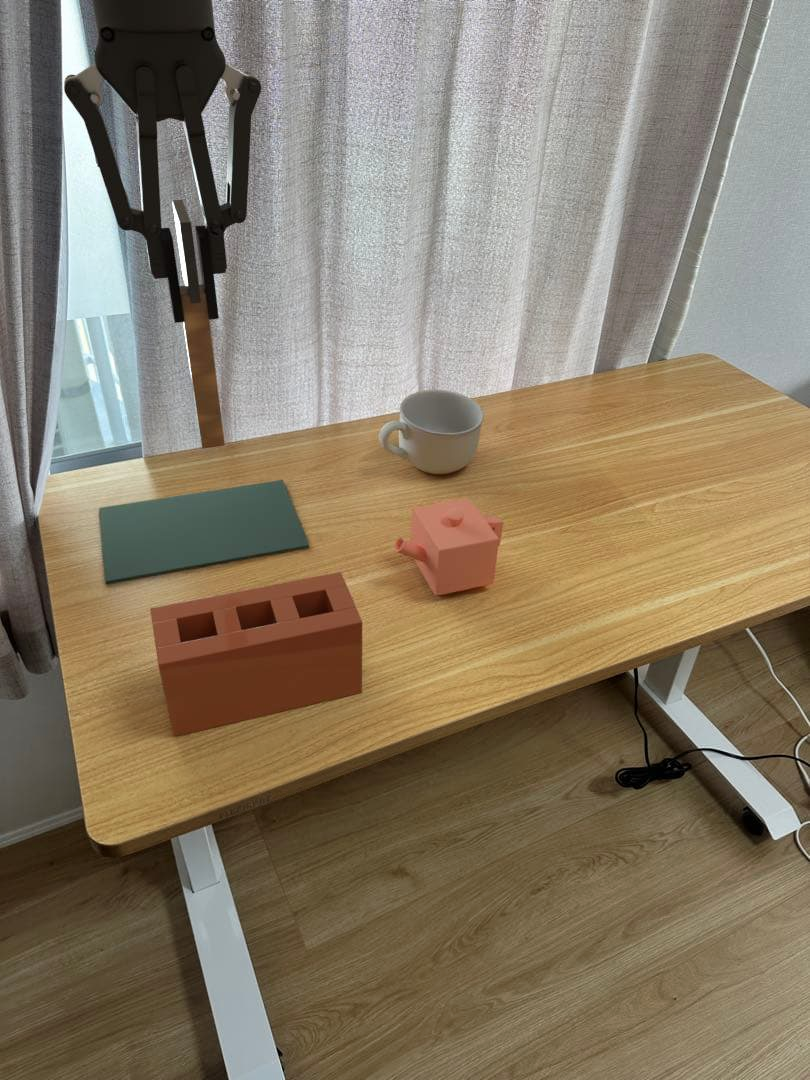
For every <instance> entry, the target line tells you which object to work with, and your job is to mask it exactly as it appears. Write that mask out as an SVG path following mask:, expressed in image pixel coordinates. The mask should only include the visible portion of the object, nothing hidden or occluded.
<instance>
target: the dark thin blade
mask: <svg viewBox="0 0 810 1080" xmlns="http://www.w3.org/2000/svg"><path fill="white" fill-rule="evenodd" d="M171 204H172V210H173V217H174V223H175V231H176V239H177V245H178V253H179V259H180V266H181V268H180V269H181V273H182V275H181V276H182V278H183V282H184V285H179V286H180V293H181V300H182V308H183V315H184V322H182V326H183V332H184V333H183V334H184V340H185V346H186V347H185V348H186V353H187V359H188V367H189V373H190V380H191V387H192V395H193V401H194V410H195V415H196V422H197V429H198V436H199V441H200V445H201V448H202V449H211V448H219V447H225V446H226V444H225V435H224V434H225V433H224V428H223V420H222V419H223V418H222V412H221V411H222V410H221V403H220V395H219V386H218V379H217V370H216V362H215V354H214V347H213V346H214V345H213V338H212V330H211V321H210V320H209V315H208V307H207V299H206V292H205V289H204V287H203V284H202V283H200V281H199V273H198V272H199V271H198V265H197V258H196V250H195V242H194V233H193V226H192V221H191V219H190V216H189V213H188V211H187V208H186V205H185V203H184V200H183V199H173V200H172V201H171Z"/></svg>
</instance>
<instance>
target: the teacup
mask: <svg viewBox="0 0 810 1080" xmlns="http://www.w3.org/2000/svg"><path fill="white" fill-rule="evenodd" d="M398 410H399V420H391V421H388V422H387V423H385V424H384V425H383V426H382V428H381V429H380V432H379V435H378V440H379V444H380V446H381V447H382V448H383V449H384V450H385V451H387V453H390V454H392V455H394V456H398V458H399V459H401V461H407V462H408V463H410V464H411V465H412V466H414V467H415V469H418V470H420V471H421V472H424V473H426V474H430V475H446V474H451V473H455V472H456V471H459V470H461V469H463V468H465V467H466V466H468V465H469V464H470V463H471V462H472V460H473V459H474V458H475V455H476V453H477V450H478V446H479V443H480V442H479V441H480V437H481V431H482V430H481V429H482V424H483V421H484V420H485V415H484V411H483V408H482V407H481V406H480V405H479V403H478V402H476V401H475V400H474V399H472V398H471V397H469V396H467V395H465V394H462V393H458V392H455V391H452V390H444V389H426V390H420V391H416V392H414V393H411V394H409V395H406V397H404V398H403V399H402V400H401V402H400V404H399V409H398ZM395 431H398V446H395V445H392V444H391V443H390V441H389V439H390V436H391V435H392V434H393V432H395Z"/></svg>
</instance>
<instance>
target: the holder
mask: <svg viewBox="0 0 810 1080" xmlns="http://www.w3.org/2000/svg"><path fill="white" fill-rule="evenodd" d="M149 610H150V617H151V618H150V619H151V624H152V630H153V632H152V633H153V638H154V639H153V640H154V646H155V652H156V653H155V654H156V659H157V666H158V671H159V675H160V679H161V685H162V689H163V693H164V698H165V702H166V703H165V704H166V707H167V711H168V716H169V717H168V718H169V721H170V727H171V730H172V736H173V737H179V736H184V735H187V734H192V733H197V732H201V731H204V730H209V729H214V728H217V727H221V726H226V725H230V724H235V723H238V722H243V721H247V720H251V719H256V718H259V717H264V716H267V715H272V714H276V713H280V712H281V713H282V712H285V711H289V710H293V709H298V708H302V707H306V706H311V705H315V704H319V703H324V702H327V701H332V700H337V699H341V698H344V697H349V696H353V695H358V694H361V693H363V620H362V617H361V615H360V613H359V611H358V608H357V605H356V603H355V601H354V599H353V596H352V594H351V591H350V589H349V587H348V585H347V583H346V581H345V579H344V576H343V574H342V572H341V571H338V572H332V573H327V574H321V575H317V576H312V577H306V578H300V579H295V580H291V581H285V582H280V583H275V584H269V585H264V586H258V587H253V588H248V589H243V590H238V591H233V592H228V593H222V594H217V595H211V596H206V597H201V598H195V599H189V600H186V601H180V602H176V603H175V602H174V603H170V604H164V605H159V606H154V607H150V608H149Z"/></svg>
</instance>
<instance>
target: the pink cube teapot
mask: <svg viewBox="0 0 810 1080" xmlns="http://www.w3.org/2000/svg"><path fill="white" fill-rule="evenodd" d="M504 523H505V522H504V521H503V519H502V518H501V517H500V516H499V515H482V513H481V512H480V510H479V509H478V508H477V506H476V505H475V504H474V503H473V500H471V499H470V497H465V498H460V499H459V498H458V499H453V500H447V501H441V502H437V503H430V504H426V505H425V504H424V505H420V506H414V507H412V508H411V519H410V535H409V536H410V537H409V538H410V539H409V540H410V541H409V540H407V539H405V538H402V537H399V538H398V539H397V540H396V541H395V543H394V545H393V550H394V552H396V553H398V554H401V555H403V556H405V557H409V558H412V559H413V560H414V562H415V563H416V565H417V567H418V568H419V571H420V572H421V574H422V576H423V577H424V579H425V582H426V583H427V584H428V586H429V588H430V589H431V592H432V593H433V595H434V596H435V597H439V596H442V595H443V596H444V595H447V594H451V593H455V592H461V591H466V590H470V589H474V588H479V587H483V586H489V585H493V584H494V582H495V573H496V566H497V558H498V551H499V547H500V545H501V540H502V533H503V529H504Z"/></svg>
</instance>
